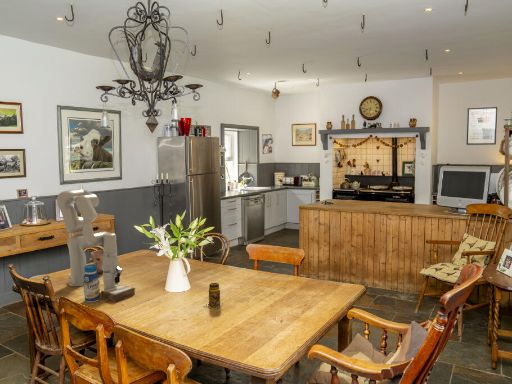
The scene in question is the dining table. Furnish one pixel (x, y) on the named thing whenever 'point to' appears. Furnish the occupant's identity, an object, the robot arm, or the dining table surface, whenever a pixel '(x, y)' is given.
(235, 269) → the dining table surface
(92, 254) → the ceramic jug
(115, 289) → the walnut picture frame
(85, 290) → the beverage bottle
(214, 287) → the condiment
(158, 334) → the dining table surface
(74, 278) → the robot arm
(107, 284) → the mug
